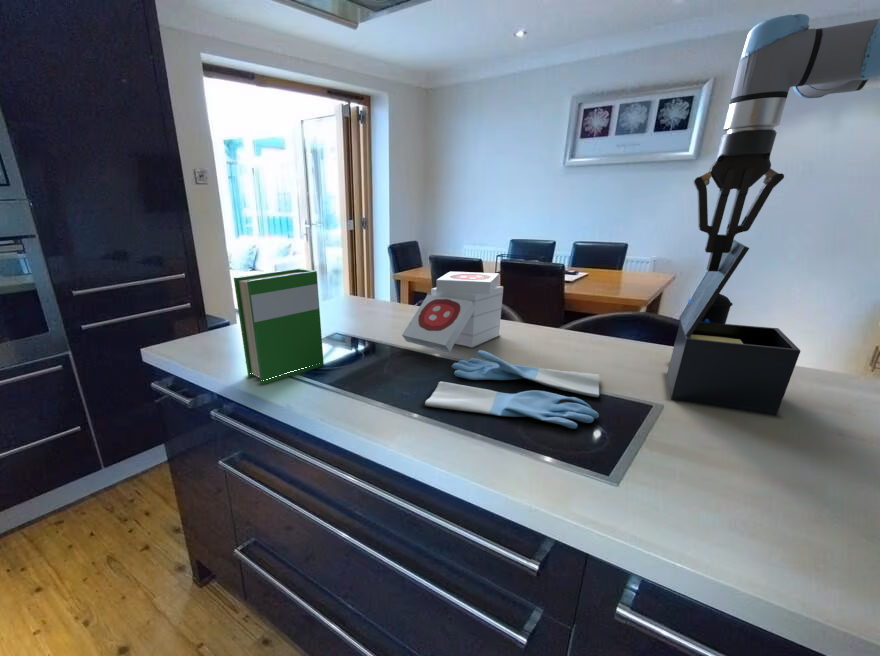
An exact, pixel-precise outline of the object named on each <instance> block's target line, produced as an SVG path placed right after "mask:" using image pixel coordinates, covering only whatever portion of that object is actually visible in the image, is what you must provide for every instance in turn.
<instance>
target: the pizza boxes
mask: <svg viewBox="0 0 880 656" xmlns="http://www.w3.org/2000/svg"><path fill="white" fill-rule="evenodd" d="M435 281H436V285H435V286H436V287H433V288H431V289H430V294H427V295H426V296H425V298H424V299H423V301H422V302H421V303H420V305H419V307H418V309H417V311H416V312H415V313H414V316H413V317H412V318H411V320H410V321H409V323H408V324H407V326H406V328H405V329H404V330H403V332H402V334H401V336H402V337H403V339H404V340H405V342H407V343H410V344H415V345H418V346H422V347H426V348H431V349H434V350H437V351H443V352H447V353H450V352H451V351H452V349H453V347H454V345H455V344H456V345H461V346H464V347H468V348H474V347H476V346H479V345H481V344H483V343H485V342H488V341H490V340H492V339H495V338H497V337H499V336H500V331H501V330H500V329H501V317H502V307H503V296H504V285H503V286H502V285H499V281H500V273H497V272H474V271H473V272H471V271H470V272H469V271H449V272H446V273H445V274H444V275H442V276H440V277H439V278H437V279H436V280H435Z"/></svg>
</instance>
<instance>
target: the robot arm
mask: <svg viewBox="0 0 880 656" xmlns="http://www.w3.org/2000/svg"><path fill="white" fill-rule="evenodd" d="M809 23H810V17H809V15H807V14H805V13H797V14H785V15H780V16H775V17H772V18H769V19H766V20H763V21H761V22H759V23H758V24H756V25H754V27H752V28H751V29H750V30H749V32H748V33H747V36H746V39H745V42H744V46H743V50H742V52H741V56H740V59H739V62H738V66H737V71H736V75H735V80H734V84H733V87H732V93H731V96H730V102H729V105H728V109H727V113H726V117H725V121H724V124H723V132H726V134H725V133H724V134H723V135H722V136H721V137H720V141H719V144H718V148H717V153H716V157H715V160H714V163H713V164H712V165H711V166H710V168H709V171H707V172H706V173H704V174H701V175H700V176H697V177H695V178H694V179H693V180H692V183H693V185H694V187H695V189H696V192H697V219H698V220H697V221H698V222H697V223H698V230H699V231H701V232H704V233H706V234H707V239H706V243H705V247H704V252H705V253H706V254H707V253H709V259H708V262H707V264H706V265H707V266H706V271H707V272H709V271H716V272H718V269H719V265H720V261H721V258H722V254H723V253H729V252H730V250H731V247H732V243H733V240H735V237H736V235H738V234H741V233H744V232H745V233H746V232H748V231H749V230H750V229H751V227H752V225H753V224H754V222H755V220H756V218H757V217H758V215H759V213H760V212H761V210H762V208H763V206H764V205H765V203H766V201H767V200H768V198H769V196H770V194H771V193H772V192H773V189H774V188H776V187H777V185H778V184H780V183H781V181H782V180H784V178H785V174H784V173H781V172H780V173H779V172H777V171H776V170H774V169H773V168H772V163H771V154H772V151H773V147H774V145H775V144H774V143H775V140H776V137H777V134H778V132H777V131H776V130H775V128H776V127H778V126H779V125H780V123H781V120H782V116H783V113H784V109H785V105H786V101H787V98H788V96H789V91H790V89H791V88H792V89H793V92H794V93H795V94H796V96H798V97H800V98H802V99H807V100H808V99H811V100H812V99H818V98H819V99H820V98H823V97H825V96H828V95H831V94H832V95H833V94H843V93H851V92H856V91H858V92H859V91H866V90H875V89H880V17H879V18H874V19H869V20H863V21H862V20H861V21H857V22H849V23H844V24H838V25H832V26H827V27H819V28H815V27H813V28H810V25H809ZM762 177H764V178H763V180H762V183H763V185H762V186H761V188H760V189H759V191H758V193H757V194H756V196H755V197H754V200H753V202H752V204H751V205H750V206H749V209H748V210H747V212H746V214H745V216H744V217H743V219H742V221H741V223H740V220H741V216H742V212H743V209H744V205H745V202H746V198H747V195H748V193H749V191H750V188H751V187H753V186H754V184H756V183H757V182H758V181H759V180H760V179H761V178H762ZM711 178H712V181H714V183H715V185H716V187H717V188H718V189H719V190H718V193H717V198H716V203H715V206H714V210H713V214H712V218H711V222H710V225H709V219H708V218H709V209H708V189H707V188H708V187H707V186H709V184H710V182H711V181H710V180H711ZM731 190H735V194H734V195H735V196H734V200H733V203H732V207H731V210H730V214H729V218H728V223H727V226H726V231H725V234H719V233H720V229H721V224H722V221H723V217H724V214H725V210H726V206H727V202H728V199H729V197H730V194H731ZM739 223H740V224H739Z"/></svg>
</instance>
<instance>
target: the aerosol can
mask: <svg viewBox="0 0 880 656" xmlns="http://www.w3.org/2000/svg"><path fill="white" fill-rule="evenodd" d="M690 300H691V298H689V299H687V303H689V301H690ZM733 304H734V303H733V302H732V301H731V300H730V299H729V298H728V296H726V295H725V294H722V293H719V294H718V296H717V297H716V299H715V300H714V302H713V303H712V305H711V306H710V308H709V309H708V311H707V312H706V314H705V315H704V317H703V318H702V320H701V321H700V322H709V323H721V324H727V320H728V316H729V312H730V310H731V307H732V306H733Z"/></svg>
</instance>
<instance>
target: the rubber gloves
mask: <svg viewBox="0 0 880 656" xmlns="http://www.w3.org/2000/svg"><path fill="white" fill-rule="evenodd" d="M477 355H478V357H479V358H475V357H471V358H469V360H468V361H467V360H466V359H460V360H458V362H454V363H452V364H451V368H452V369H453V370H455V371H454V373H453V375H454V376H455V377H457V378H461V379H465V380H473V381H486V380H487V381H488V380H489V381H491V380H492V381H512V380H513V381H514V380H523V379H525V380H529V381H532V382H535V383H537V384H540V385H543V386H545V387H549V388H552V389H555V390H560V391H564V392H568V393H571V394H577V395H582V396H586V397H591V398H599V397H600V395H601V393H600V382H601V381H600V379H601V375H600V374H597V373H596V374H595V373H587V372H578V371H569V370H557V369H552V368H543V367H533V366H527V365H526V366H525V365H517V364H511V363H510V362H508V361H505V360H503V359H502V358H501V357H497V356H496V355H494V354H492V353H490V352H487V351H486V350H482V349H481V350H478V351H477ZM480 358H481V359H480ZM482 359H483V360H482ZM560 401H566V402H560ZM424 406H425V407H430V408H437V409H444V410H445V409H446V410H452V411H453V410H454V411H462V412H467V413H477V414H484V415H492V416H497V417H508V418H509V417H512V418H521V417H523V418H524V417H525V418H526V417H530V418H532V419H536V420H539V421H542V422H546V423H551V424H555V425H559V426H562V427H565V428H568V429H572V430H576V429H577V428H578V427H579V426H578V423H577V422H575V421H578V422H580V423H583V424H592V423H593V422H594V421H595V420H597V419H598V418H599V417H600V414H599V412H598V411H596V410H594V409H593V408H592V407H591V405H590V404H588V403H587V402H585V400H583V399H580V398H578V397H575V396H565V395H561V394H558V393H553V392H550V391H545V390H538V389H537V390H535V389H534V390H525V391H519V392H517V393H508V392H507V393H506V392H500V391H496V390H492V389H486V388H481V387H475V386H469V385H463V384H458V383H453V382H447V381H439V382H438V384H437V387H435V389H434V391H433V392H432V394H431V395H430V397H429V398H427V399H426V400H425V401H424Z"/></svg>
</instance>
